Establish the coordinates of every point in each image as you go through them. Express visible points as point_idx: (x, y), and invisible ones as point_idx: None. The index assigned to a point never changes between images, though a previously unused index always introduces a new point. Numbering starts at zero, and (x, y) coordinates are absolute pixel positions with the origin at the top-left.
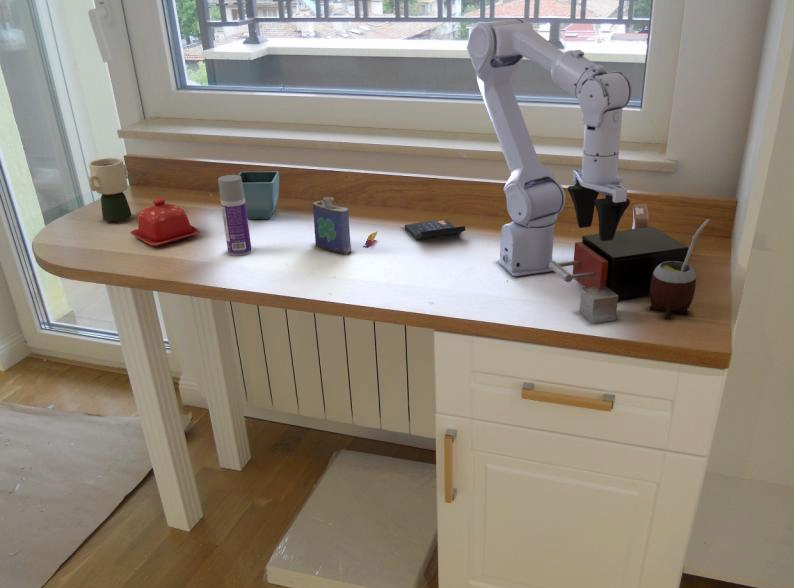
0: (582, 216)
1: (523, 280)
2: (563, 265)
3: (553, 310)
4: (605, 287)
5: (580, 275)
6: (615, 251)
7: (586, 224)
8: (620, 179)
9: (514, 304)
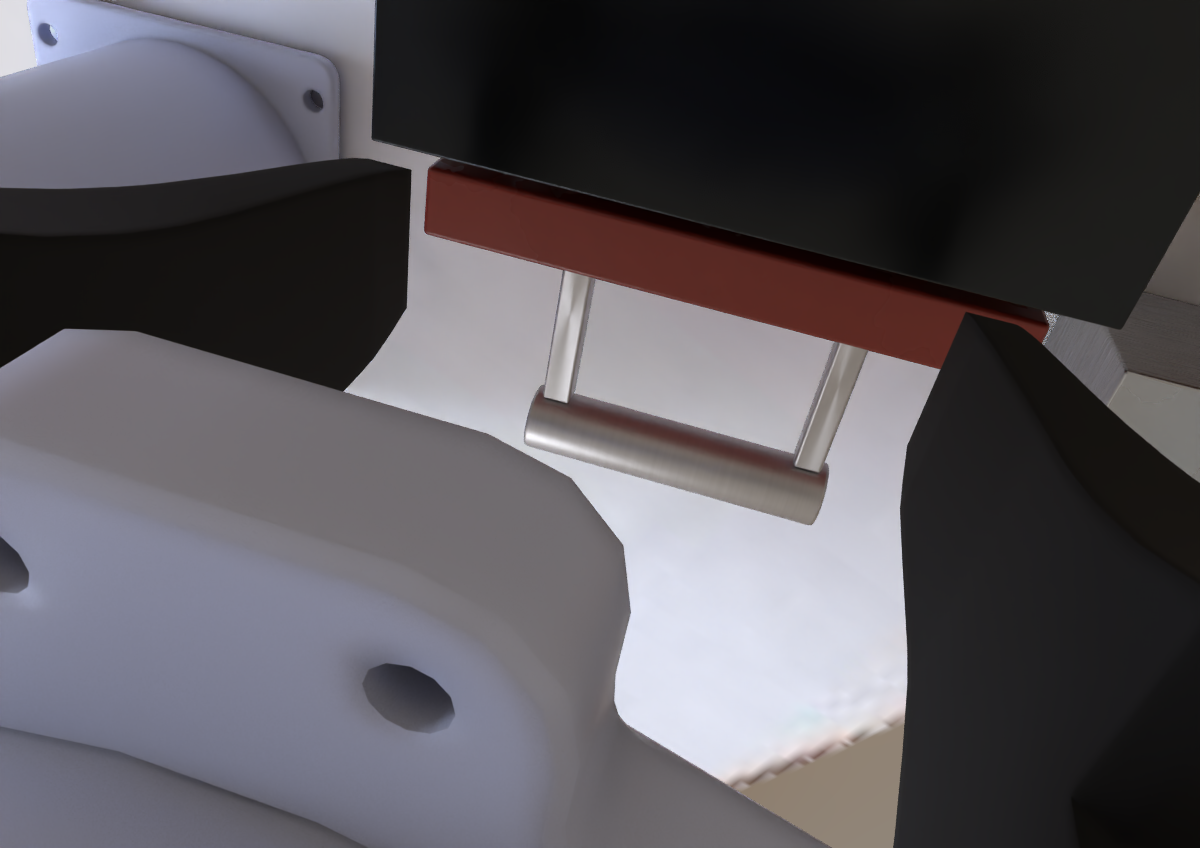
0: (326, 349)
1: (396, 369)
2: (581, 356)
3: (855, 509)
4: (1159, 401)
5: (843, 410)
6: (996, 173)
7: (393, 245)
8: (578, 746)
9: (661, 596)
